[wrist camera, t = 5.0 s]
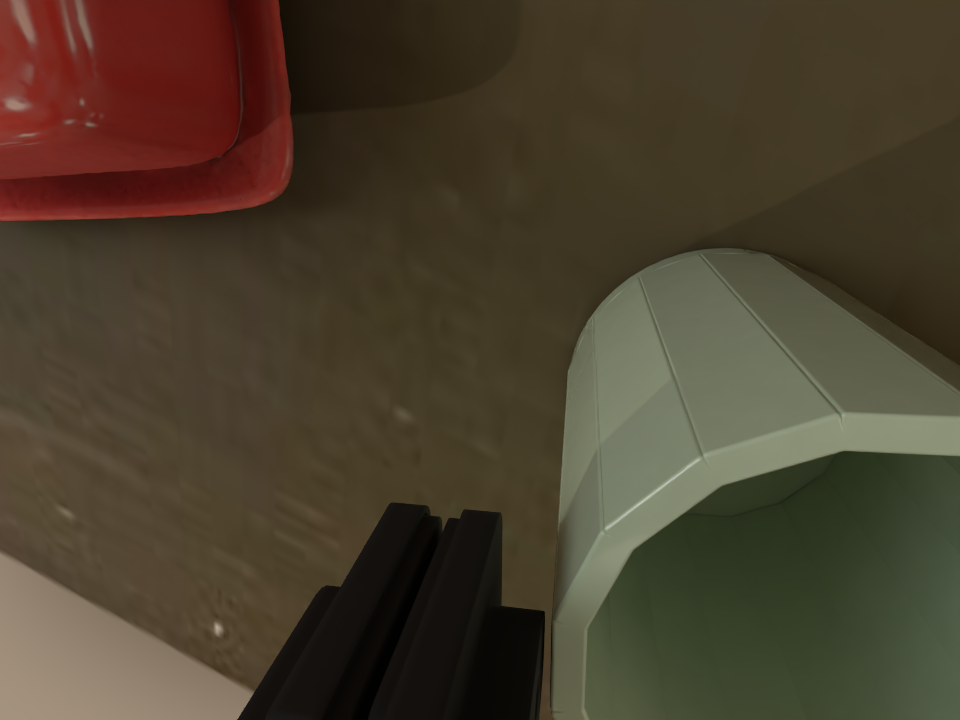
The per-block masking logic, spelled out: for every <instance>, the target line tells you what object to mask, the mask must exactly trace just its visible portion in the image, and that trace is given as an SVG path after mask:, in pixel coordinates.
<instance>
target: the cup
mask: <svg viewBox="0 0 960 720" xmlns="http://www.w3.org/2000/svg"><path fill="white" fill-rule="evenodd" d="M550 708H551V710H552V711H551V713H552V715H553V717H554V719H555V720H960V366H959V365H958V364H956V363H955V362H953V361H951V360H950V359H948V358H947V357H945V356H944V355H942V354H941V353H939V352H938V351H936V350H934V349H933V348H931V347H930V346H928V345H927V344H925V343H924V342H922V341H920V340H919V339H917V338H916V337H914V336H913V335H911V334H910V333H908V332H906V331H905V330H903V329H902V328H900V327H899V326H897V325H896V324H894V323H893V322H891V321H889V320H888V319H886V318H885V317H883V316H882V315H880V314H879V313H877V312H875V311H874V310H872V309H871V308H869V307H868V306H866V305H865V304H863V303H862V302H860V301H858V300H857V299H855V298H854V297H852V296H851V295H849V294H848V293H846V292H844V291H843V290H841V289H840V288H838V287H837V286H835V285H834V284H832V283H830V282H829V281H827V280H826V279H824V278H822V277H820V276H818V275H815V274H813V273H810V272H808V271H807V270H805V269H803V268H801V267H799V266H797V265H795V264H793V263H791V262H789V261H787V260H785V259H782V258H779V257H776V256H773V255H770V254H767V253H763V252H758V251H753V250H748V249H734V248H717V249H703V250H698V251H692V252H687V253H683V254H680V255H676V256H673V257H670V258H667V259H664V260H662V261H660V262H657V263H655V264H653V265H651V266H649V267H646V268H645V269H643V270H641V271H640V272H638V273H637V274H635V275H633V276H632V277H630V278H629V279H627V280H626V281H625V282H624V283H622V284H621V285H620V286H619V287H617V288H616V289H615V290H614V291H613V292H612V293H611V294H610V295H609V296H608V297H607V298H606V299H605V300H604V301H603V302H602V303H601V304H600V305H599V307H598V308H597V309H596V311H595V312H594V313H593V315H592V316H591V317H590V319H589V320H588V322H587V324H586V326H585V327H584V329H583V331H582V333H581V335H580V337H579V340H578V342H577V345H576V347H575V350H574V353H573V357H572V361H571V364H570V366H569V370H568V379H567V394H566V410H565V425H564V440H563V455H562V471H561V486H560V501H559V517H558V532H557V547H556V563H555V578H554V593H553V608H552V626H551V677H550Z"/></svg>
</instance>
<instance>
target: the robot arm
mask: <svg viewBox="0 0 960 720" xmlns="http://www.w3.org/2000/svg"><path fill="white" fill-rule="evenodd" d="M501 597H502V515H501V513H498V512H488V511H477V510H466V509H465V510H463V512H462V515H461V517H460V519H457V518H449V519H448V521H447V523H446V525H445V528H444V530H443V533H442V520H441V518H440V517H437V516H430V510H429V507H428V506H425V505H414V504H404V503H390V504H389V506H388V507H387V509H386V511H385V512H384V514H383V516H382V517H381V519H380V521H379V522H378V524H377V526H376V528H375V529H374V531H373V533H372V534H371V536H370V538H369V540H368V541H367V543H366V545H365V546H364V548H363V550H362V551H361V553H360V555H359V557H358V558H357V560H356V562H355V563H354V565H353V567H352V569H351V570H350V572H349V574H348V575H347V577H346V579H345V581H344V582H343V584H342V586H341V587H336V586H325V587H322V588H321V589H320V590H319V592H318V593H317V594H316V595H315V597H314V599H313V600H312V602H311V603H310V605H309V607H308V608H307V610H306V611H305V613H304V615H303V616H302V618H301V619H300V621H299V622H298V624H297V626H296V627H295V629H294V630H293V632H292V634H291V635H290V637H289V638H288V640H287V642H286V643H285V645H284V646H283V648H282V649H281V651H280V653H279V654H278V656H277V657H276V659H275V661H274V662H273V664H272V665H271V667H270V669H269V670H268V672H267V673H266V675H265V676H264V678H263V680H262V681H261V683H260V684H259V686H258V688H257V689H256V691H255V692H254V694H253V696H252V697H251V699H250V701H249V702H248V704H247V705H246V707H245V708H244V710H243V712H242V713H241V715H240V716H239V718H238V719H237V720H539V713H540V702H541V690H542V676H543V658H544V632H545V612H544V611H540V610H531V609H522V608H514V607H505V606H501Z"/></svg>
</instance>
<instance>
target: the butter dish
mask: <svg viewBox="0 0 960 720" xmlns="http://www.w3.org/2000/svg"><path fill="white" fill-rule="evenodd" d="M290 105H291V93H290V90H289V84H288V75H287V69H286V61H285V50H284V41H283V33H282V25H281V20H280V7H279V0H0V221H34V220H75V219H105V218H113V219H114V218H133V217H161V216H172V215H194V214H200V213H209V214H210V213H217V212H224V211H232V210H241V209H245V208H251V207H256V206H258V205H262V204H265V203H268V202H270V201H273V200H274V199H276V198H277V197H278V196H280V195H281V194H282V193H283V192H284V190H285V189H286V187H287V186H288V184H289V181H290V177H291V174H292V170H293V129H292V120H291V117H290Z"/></svg>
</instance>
